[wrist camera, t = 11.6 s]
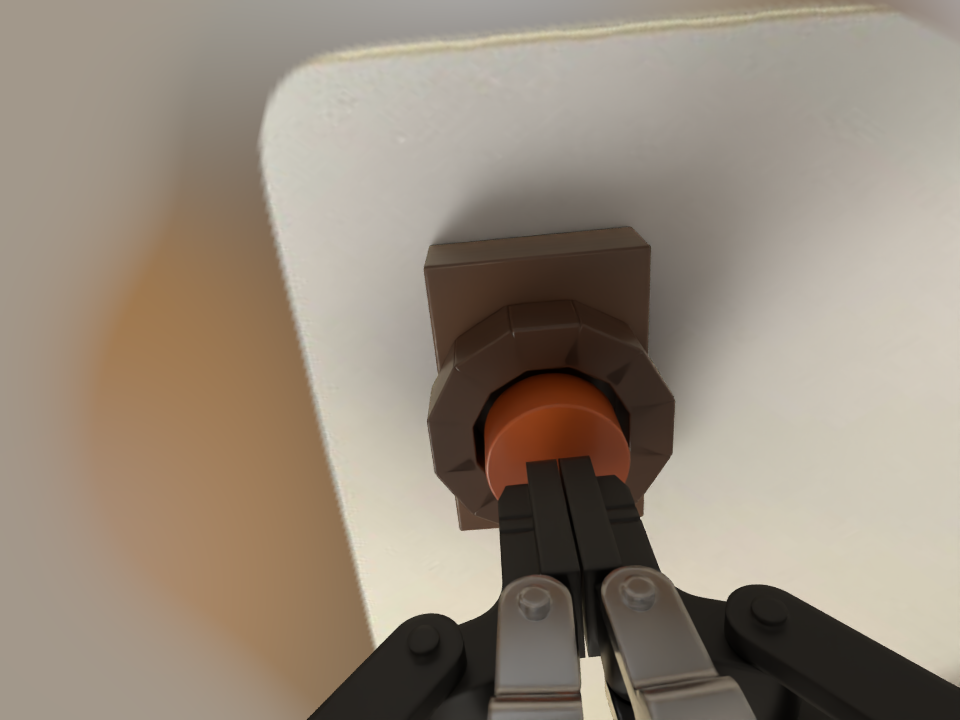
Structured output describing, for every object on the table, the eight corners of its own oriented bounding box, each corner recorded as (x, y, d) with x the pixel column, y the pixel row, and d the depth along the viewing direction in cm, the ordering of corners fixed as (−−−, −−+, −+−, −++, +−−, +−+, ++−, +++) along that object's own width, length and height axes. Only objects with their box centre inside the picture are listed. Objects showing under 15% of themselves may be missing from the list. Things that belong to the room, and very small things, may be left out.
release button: (478, 378, 16) (478, 411, 14) (616, 365, 16) (632, 398, 14) (490, 489, 17) (491, 531, 16) (615, 478, 17) (630, 520, 16)
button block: (420, 245, 18) (406, 290, 14) (640, 224, 18) (682, 264, 14) (454, 490, 22) (450, 574, 18) (635, 476, 22) (667, 557, 18)
